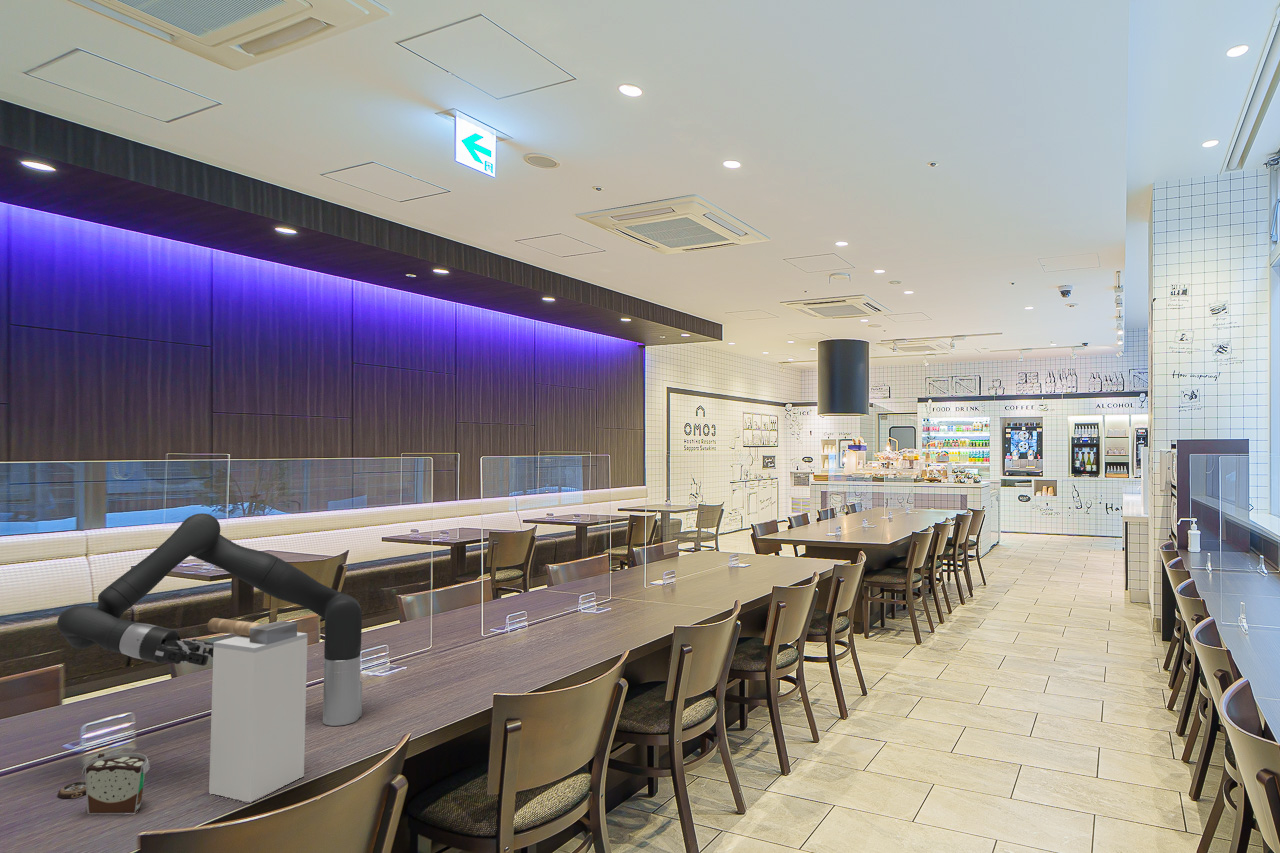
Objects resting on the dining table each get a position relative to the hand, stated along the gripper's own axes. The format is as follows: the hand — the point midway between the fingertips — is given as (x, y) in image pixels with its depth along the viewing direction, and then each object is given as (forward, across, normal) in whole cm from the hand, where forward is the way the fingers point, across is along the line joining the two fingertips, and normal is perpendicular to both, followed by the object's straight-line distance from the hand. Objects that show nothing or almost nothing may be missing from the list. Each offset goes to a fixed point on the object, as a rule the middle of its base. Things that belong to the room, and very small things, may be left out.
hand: (217, 658), depth 168 cm
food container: (-4, -12, +30) cm, 32 cm away
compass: (-18, -6, +32) cm, 37 cm away
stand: (+17, -1, +24) cm, 29 cm away
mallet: (+7, -3, -7) cm, 10 cm away
